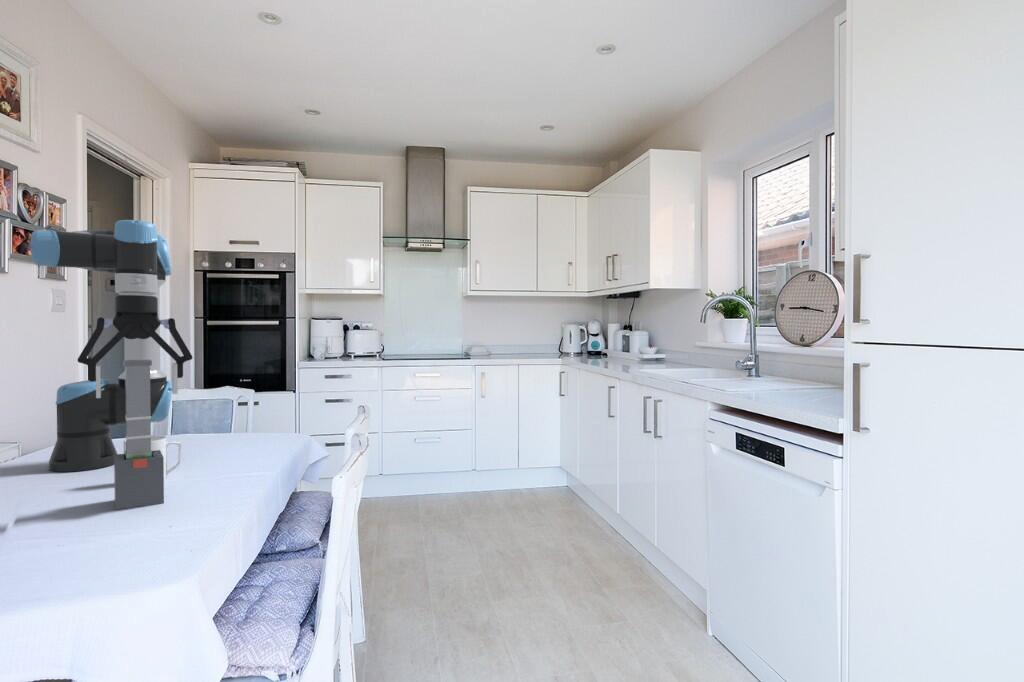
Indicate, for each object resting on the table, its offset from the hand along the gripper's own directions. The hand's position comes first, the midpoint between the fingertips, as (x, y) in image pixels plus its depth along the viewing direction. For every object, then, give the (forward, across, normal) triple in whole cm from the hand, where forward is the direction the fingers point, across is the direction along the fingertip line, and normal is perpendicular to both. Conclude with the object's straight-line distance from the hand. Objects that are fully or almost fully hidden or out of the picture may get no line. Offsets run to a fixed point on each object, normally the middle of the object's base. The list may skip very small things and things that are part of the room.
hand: (137, 395), depth 122 cm
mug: (+24, +4, +20) cm, 32 cm away
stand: (+24, 0, 0) cm, 24 cm away
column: (+15, 0, 0) cm, 15 cm away
